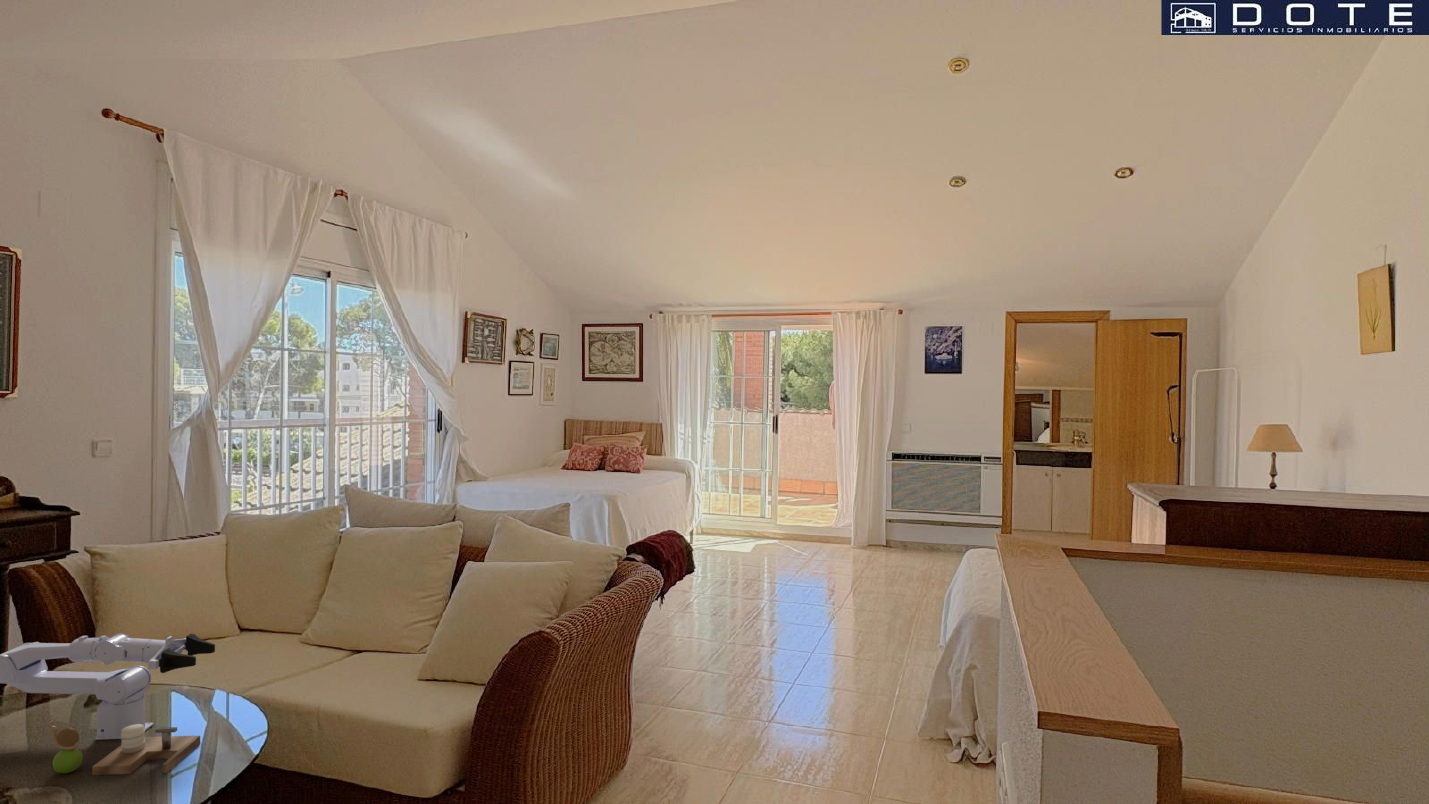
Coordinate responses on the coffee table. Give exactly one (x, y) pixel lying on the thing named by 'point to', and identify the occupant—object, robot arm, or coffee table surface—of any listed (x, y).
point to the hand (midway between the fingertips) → (204, 654)
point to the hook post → (166, 736)
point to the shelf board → (147, 755)
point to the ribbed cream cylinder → (133, 738)
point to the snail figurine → (66, 749)
